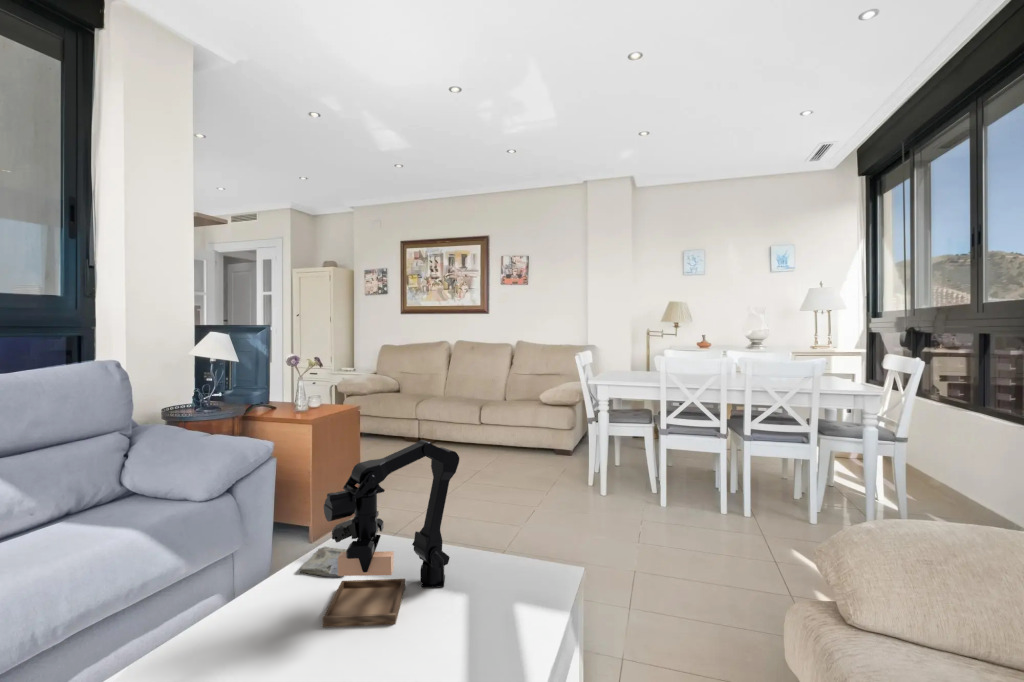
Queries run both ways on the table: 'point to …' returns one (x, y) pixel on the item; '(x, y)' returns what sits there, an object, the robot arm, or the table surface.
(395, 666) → the table surface
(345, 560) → the light brown rectangular block
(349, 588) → the tray
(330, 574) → the fossil rock
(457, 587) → the table surface
